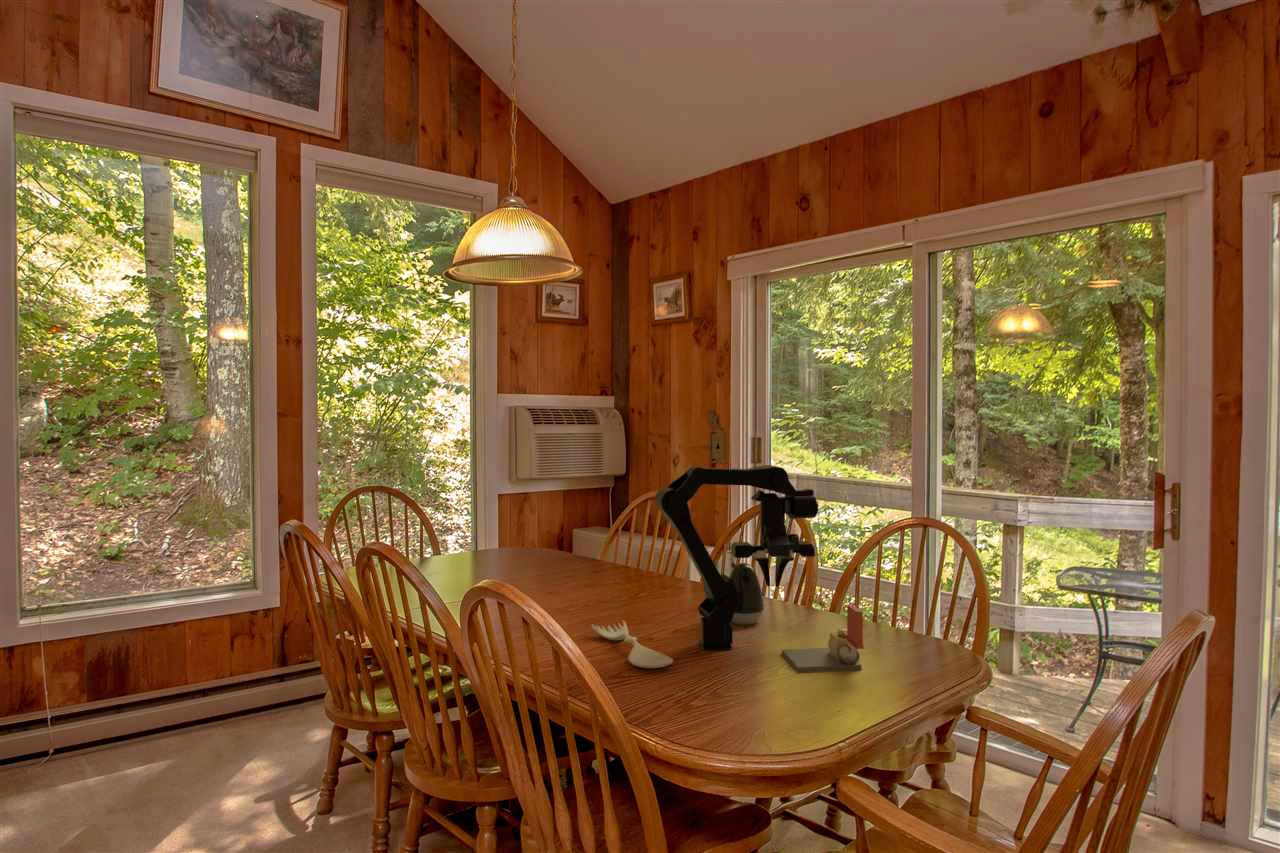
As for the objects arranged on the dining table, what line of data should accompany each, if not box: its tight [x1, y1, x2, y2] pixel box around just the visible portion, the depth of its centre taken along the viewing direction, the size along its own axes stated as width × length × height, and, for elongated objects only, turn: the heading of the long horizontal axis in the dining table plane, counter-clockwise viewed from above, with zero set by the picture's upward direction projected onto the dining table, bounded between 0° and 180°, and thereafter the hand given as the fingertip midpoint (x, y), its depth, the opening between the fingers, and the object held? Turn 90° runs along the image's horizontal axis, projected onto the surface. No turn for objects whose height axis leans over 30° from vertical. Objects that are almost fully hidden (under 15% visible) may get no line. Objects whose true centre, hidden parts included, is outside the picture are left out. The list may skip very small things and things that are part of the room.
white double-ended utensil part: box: [590, 620, 674, 669], centre depth 175 cm, size 9×32×4 cm, turn 23°
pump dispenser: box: [728, 562, 765, 626], centre depth 199 cm, size 10×10×15 cm
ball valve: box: [827, 631, 861, 665], centre depth 166 cm, size 4×9×5 cm, turn 6°
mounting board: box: [781, 647, 862, 673], centre depth 168 cm, size 14×12×1 cm
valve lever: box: [837, 604, 865, 650], centre depth 162 cm, size 11×2×8 cm, turn 5°
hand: (772, 586), depth 182 cm, fingers closed
